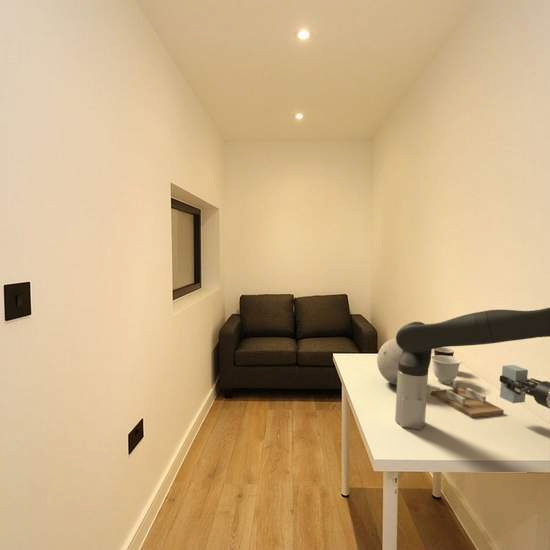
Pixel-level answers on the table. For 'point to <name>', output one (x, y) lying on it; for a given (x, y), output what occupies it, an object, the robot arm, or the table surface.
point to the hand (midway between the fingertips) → (507, 377)
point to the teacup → (445, 368)
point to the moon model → (389, 360)
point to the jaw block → (514, 374)
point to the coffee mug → (443, 352)
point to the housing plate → (467, 401)
